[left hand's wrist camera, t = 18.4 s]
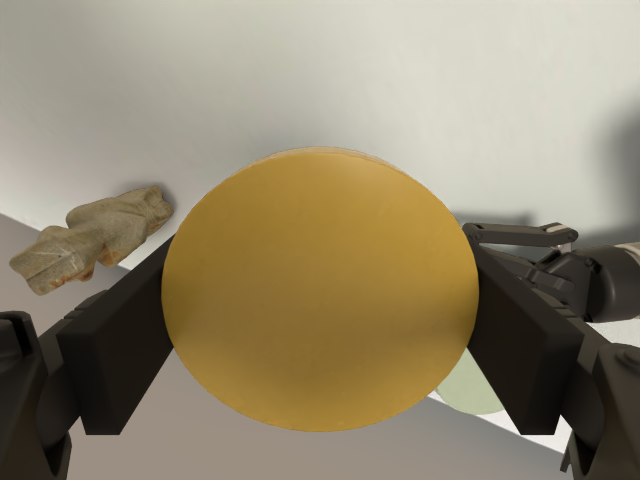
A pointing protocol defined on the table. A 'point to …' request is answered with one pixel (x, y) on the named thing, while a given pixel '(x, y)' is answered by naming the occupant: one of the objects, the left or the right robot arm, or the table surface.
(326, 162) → the lid
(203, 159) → the table surface
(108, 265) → the sculpture
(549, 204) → the table surface
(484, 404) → the jar
